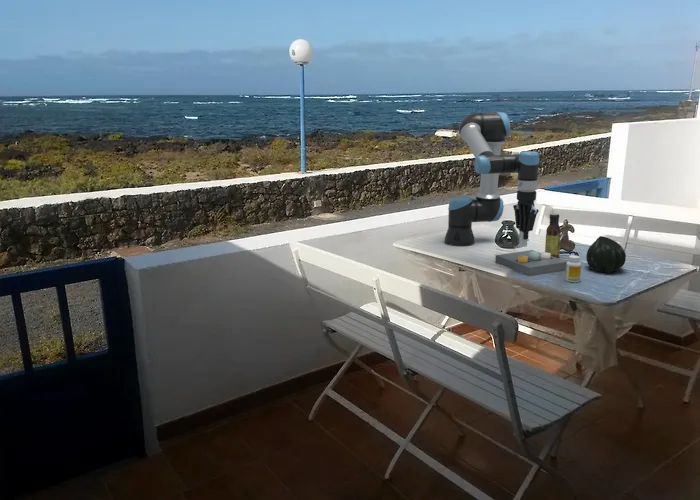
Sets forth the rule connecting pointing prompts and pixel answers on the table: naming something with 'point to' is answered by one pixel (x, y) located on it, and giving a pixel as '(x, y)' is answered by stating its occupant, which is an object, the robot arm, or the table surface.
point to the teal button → (534, 256)
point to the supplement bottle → (573, 269)
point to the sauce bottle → (553, 236)
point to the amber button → (523, 259)
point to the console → (530, 263)
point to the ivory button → (545, 255)
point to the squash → (605, 255)
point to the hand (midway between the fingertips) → (523, 246)
